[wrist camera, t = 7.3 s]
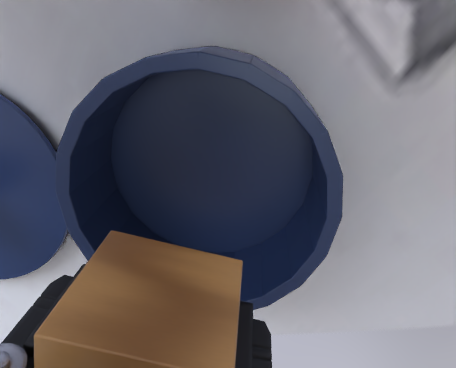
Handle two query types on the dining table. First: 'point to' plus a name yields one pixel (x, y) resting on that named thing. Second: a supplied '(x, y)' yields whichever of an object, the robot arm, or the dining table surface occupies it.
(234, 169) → the tin
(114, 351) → the piece
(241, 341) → the robot arm
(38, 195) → the tin lid
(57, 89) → the dining table surface
